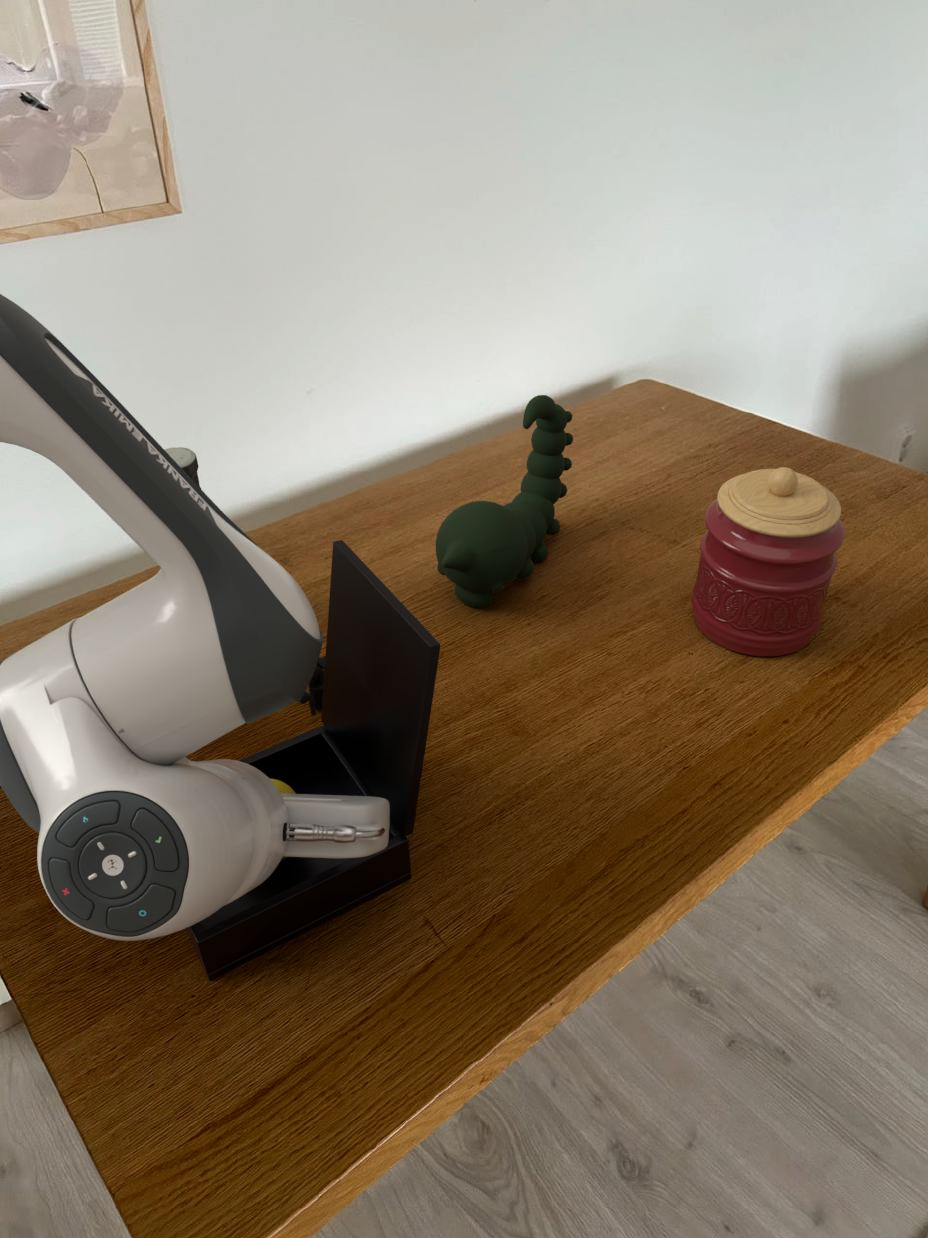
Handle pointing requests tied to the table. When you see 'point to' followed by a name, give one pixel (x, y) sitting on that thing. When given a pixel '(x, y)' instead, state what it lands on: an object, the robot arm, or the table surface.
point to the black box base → (300, 865)
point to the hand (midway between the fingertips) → (268, 811)
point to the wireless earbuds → (315, 688)
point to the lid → (378, 684)
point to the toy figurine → (509, 516)
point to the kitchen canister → (767, 562)
